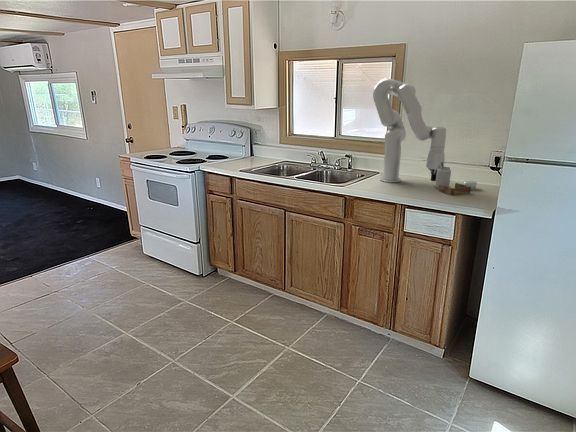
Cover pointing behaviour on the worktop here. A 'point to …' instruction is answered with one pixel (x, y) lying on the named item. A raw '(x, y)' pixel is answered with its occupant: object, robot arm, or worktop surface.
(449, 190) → the bay
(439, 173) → the can
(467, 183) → the white small piece
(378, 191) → the worktop surface
